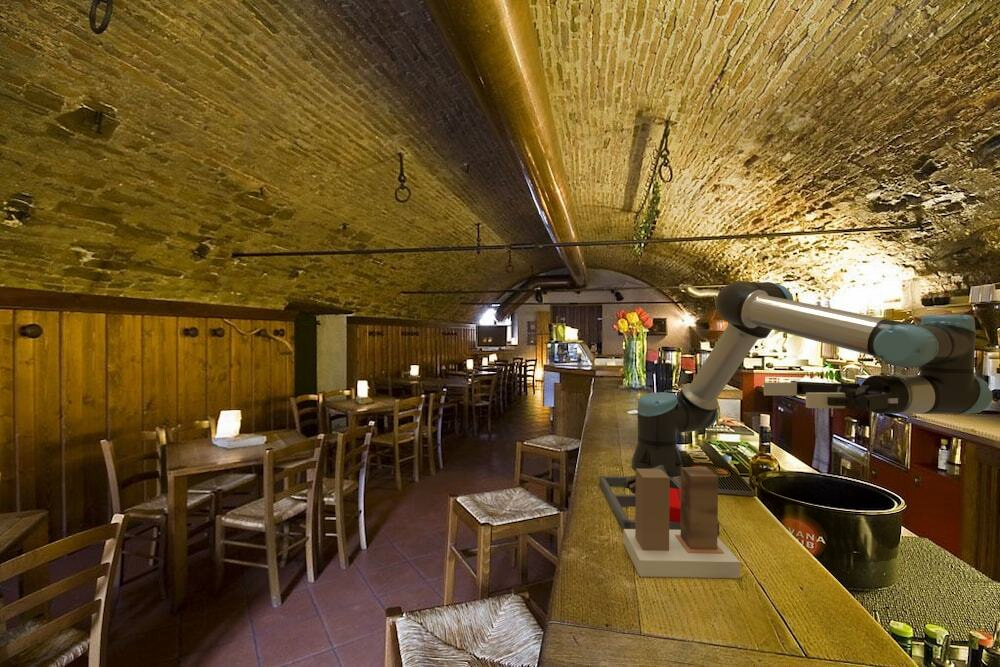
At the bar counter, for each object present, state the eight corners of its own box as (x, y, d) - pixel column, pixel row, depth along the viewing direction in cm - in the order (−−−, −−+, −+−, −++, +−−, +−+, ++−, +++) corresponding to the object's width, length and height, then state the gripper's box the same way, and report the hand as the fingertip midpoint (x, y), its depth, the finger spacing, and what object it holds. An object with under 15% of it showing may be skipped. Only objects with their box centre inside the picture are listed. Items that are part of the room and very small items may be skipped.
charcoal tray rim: (599, 484, 124) (599, 475, 124) (672, 485, 123) (672, 476, 123) (624, 533, 96) (624, 522, 95) (719, 534, 95) (719, 523, 95)
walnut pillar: (680, 536, 88) (681, 467, 87) (705, 536, 87) (706, 467, 87) (690, 549, 83) (691, 476, 82) (717, 549, 82) (718, 476, 82)
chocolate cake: (626, 498, 116) (661, 471, 112) (621, 481, 122) (654, 456, 119) (650, 519, 117) (685, 493, 114) (644, 501, 124) (677, 476, 121)
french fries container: (640, 532, 98) (639, 502, 111) (684, 539, 95) (677, 507, 108) (640, 503, 97) (639, 476, 110) (685, 508, 94) (678, 480, 108)
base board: (623, 543, 91) (623, 462, 91) (710, 544, 91) (711, 463, 90) (639, 576, 79) (640, 484, 79) (740, 578, 79) (741, 485, 78)
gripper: (958, 429, 73) (829, 428, 74) (845, 401, 98) (750, 401, 99) (959, 384, 73) (829, 384, 74) (846, 368, 98) (750, 368, 99)
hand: (783, 394), depth 86 cm, fingers open, 13 cm apart
